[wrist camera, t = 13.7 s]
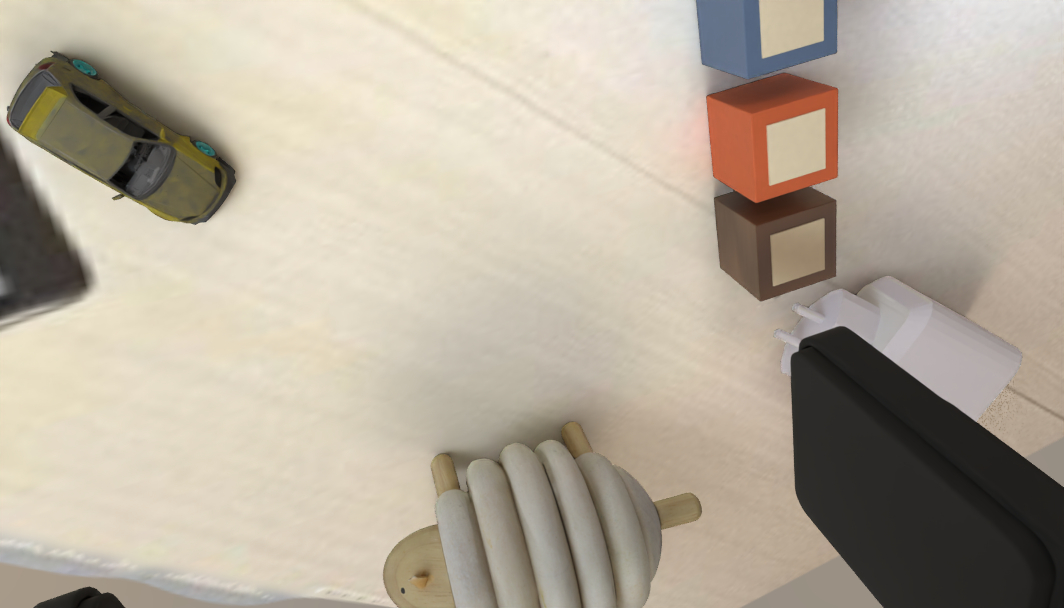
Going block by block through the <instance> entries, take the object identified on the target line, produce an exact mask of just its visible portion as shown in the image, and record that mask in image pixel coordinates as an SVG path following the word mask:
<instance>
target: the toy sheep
mask: <svg viewBox="0 0 1064 608" xmlns="http://www.w3.org/2000/svg"><path fill="white" fill-rule="evenodd" d="M561 435H562V438H563V440H564V442H565V444H566V446H567V449H568V450H567V449H566V447H565V446H564V445H563V444H561V443H560V442H557V441H554V440H547V441H544V442H542V443H540V444H539V445H538V446H537V447H536V448H535V450H534V452H532V450H531V449H530V448H529V447H527V446H526V445H524V444H521V443H512V444H509V445H507V446H506V447H505V448H504V449H503V450H502V451H501V453H500V456H499V460H498V463H496V462H494V461H493V460H490V459H478V460H474V461H472V462H471V463H470V465H469V466H468V468H467V473H466V484H467V487H468V492H464V491H462V490H460V485H459V482H458V478H457V474H456V471H455V467H454V463H453V461H452V459H451V458H450V457H449V456H448V455H446V454H440V455H437V456H436V457H435V458H434V459H433V460H432V463H431V470H432V474H433V478H434V483H435V487H436V491H437V495H438V500H437V502H436V505H435V512H436V518H437V522H438V524H437V525H433V526H429V527H426V528H423V529H420V530H418V531H416V532H414V533H412V534H410V535H409V536H407V537H406V538H404V539H403V540H402V541H400V542H399V543H398V544H397V545H396V546H395V547H394V548H393V550H392V551H391V553H390V554H389V556H388V557H387V560H386V562H385V566H384V570H383V580H384V585H385V588H386V591H387V593H388V595H389V596H390V598H391V599H392V601H393V602H394V603H395V604H396V605H397V606H398V607H399V608H642V607H643V606H644V605H645V603H646V601H647V599H648V597H649V593H650V582H651V581H652V580H653V578H654V576H655V574H656V571H657V568H658V565H659V561H660V556H661V548H662V534H661V530H662V529H666V528H670V527H674V526H677V525H681V524H685V523H689V522H693V521H696V520H698V519H699V517H700V516H701V513H702V508H701V504H700V501H699V499H698V498H697V497H696V496H695V495H694V494H692V493H685V494H681V495H677V496H674V497H670V498H666V499H662V500H659V501H655V502H652V500H651V498H650V497H649V495H648V494H647V492H646V491H645V489H644V488H643V487H642V486H641V484H640V483H639V482H638V481H637V480H636V479H635V478H634V477H633V476H631V475H630V474H629V473H628V472H626V471H625V470H624V469H622V468H620V467H619V466H616V465H613V464H612V463H611V462H610V461H609V460H608V459H607V458H605V457H604V456H602V455H600V454H597V453H593V450H592V448H591V446H590V444H589V442H588V440H587V438H586V436H585V434H584V432H583V429H582V427H581V425H580V424H578V423H577V422H569V423H567V424H565V425H564V426H563V428H562V431H561Z"/></svg>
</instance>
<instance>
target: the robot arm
mask: <svg viewBox="0 0 1064 608" xmlns="http://www.w3.org/2000/svg"><path fill="white" fill-rule="evenodd" d="M790 366H791V393H792V419H793V446H794V472H795V490H796V494H797V498H798V500H799V502H800V505H801V506H802V508H803V510H804V511H805V513H806V514H807V515H808V517H809V518H810V519H811V520H812V521H813V523H814V524H815V525H816V526H817V528H818V529H819V530H820V531H821V532H822V534H823V535H824V536H825V537H826V538H827V540H828V541H829V542H830V543H831V545H832V546H833V547H834V548H835V549H836V551H837V552H838V553H839V554H840V555H841V557H842V558H843V559H844V560H845V561H846V563H847V564H848V565H849V566H850V567H851V569H852V570H853V571H854V572H855V574H856V575H857V576H858V577H859V578H860V580H861V581H862V582H863V583H864V585H865V586H866V587H867V588H868V589H869V591H870V592H871V593H872V594H873V595H874V597H875V598H876V599H877V600H878V601H879V603H880V604H881V605H882V606H883V607H884V608H1064V487H1063V486H1061V485H1060V484H1058V483H1057V482H1056V481H1055V480H1053V479H1052V478H1050V477H1049V476H1048V475H1047V474H1045V473H1044V472H1042V471H1041V470H1040V469H1038V468H1037V467H1036V466H1035V465H1033V464H1032V463H1031V462H1029V461H1028V460H1027V459H1025V458H1024V457H1023V456H1021V455H1020V454H1019V453H1017V452H1016V451H1015V450H1013V449H1012V448H1010V447H1009V446H1008V445H1006V444H1005V443H1004V442H1002V441H1001V440H1000V439H998V438H997V437H996V436H994V435H993V434H992V433H990V432H989V431H988V430H986V429H985V428H984V427H982V426H981V425H980V424H978V423H977V422H976V421H974V420H973V419H972V418H970V417H969V416H968V415H966V414H965V413H964V412H962V411H961V410H960V409H958V408H957V407H956V406H954V405H953V404H951V403H950V402H948V401H946V400H944V399H943V398H941V397H940V396H938V395H937V394H936V393H934V392H933V391H932V390H930V389H929V388H928V387H926V386H925V385H924V384H922V383H921V382H920V381H918V380H917V379H916V378H914V377H913V376H912V375H910V374H909V373H908V372H906V371H905V370H904V369H903V368H901V367H900V366H899V365H897V364H896V363H895V362H893V361H892V360H891V359H889V358H888V357H887V356H885V355H884V354H883V353H881V352H880V351H879V350H877V349H876V348H875V347H873V346H872V345H871V344H869V343H868V342H867V341H865V340H864V339H863V338H861V337H860V336H859V335H857V334H856V333H855V332H853V331H852V330H850V329H849V328H847V327H845V326H838V327H835V328H832V329H829V330H826V331H823V332H820V333H817V334H815V335H812V336H809V337H806V338H804V339H802V340H801V342H800V344H799V351H798V352H795V353H793V354H792V356H791V360H790ZM34 608H125V607H124V606H123V605H122V603H121V602H120V601H119V600H118V599H117V598H116V597H115V596H114V595H113V594H111V593H103V594H101V593H100V592H99V591H98V590H97V589H95V588H92V587H86V588H82V589H79V590H76V591H73V592H70V593H67V594H64V595H61V596H59V597H56V598H53V599H50V600H47V601H44V602H41V603H39V604H37V605H36V606H35V607H34Z"/></svg>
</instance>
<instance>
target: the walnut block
mask: <svg viewBox="0 0 1064 608" xmlns="http://www.w3.org/2000/svg"><path fill="white" fill-rule="evenodd" d="M714 203H715V214H716V225H717V236H718V247H719V258H720V268H721V269H722V270H724V271H725V272H726V273H727V274H728V275H730V276H731V277H732V278H733V279H734V280H735V281H737V282H738V283H739V284H740V285H741V286H743V287H744V288H745V289H746V290H747V291H749V292H750V293H751V294H752V295H753V296H754V297H756V298H757V299H758V300H759V301H764V300H767V299H770V298H773V297H776V296H779V295H782V294H785V293H788V292H791V291H794V290H797V289H800V288H803V287H806V286H809V285H812V284H815V283H817V282H820V281H823V280H826V279H829V278H832V277H835V276H836V200H835V199H833V198H831V197H829V196H827V195H825V194H823V193H821V192H819V191H817V190H815V189H813V188H811V187H806V188H802V189H799V190H796V191H793V192H790V193H787V194H783V195H780V196H777V197H774V198H771V199H768V200H765V201H761V202H758V203H755V202H753V201H752V200H750V199H748V198H747V197H745V196H744V195H742V194H740V193H739V192H737V191H735V192H732V193H728V194H725V195H722V196H719V197H716V198H714Z"/></svg>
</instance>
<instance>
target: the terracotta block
mask: <svg viewBox="0 0 1064 608" xmlns="http://www.w3.org/2000/svg"><path fill="white" fill-rule="evenodd" d="M706 98H707V109H708V120H709V132H710V143H711V154H712V166H713V176H714V177H715V178H716V179H718V180H719V181H721V182H723V183H724V184H726V185H727V186H729V187H731V188H732V189H734V190H736V191H737V192H739V193H740V194H742V195H744V196H745V197H747V198H748V199H750V200H752V201H753V202H755V203H758V202H761V201H765V200H768V199H771V198H774V197H777V196H780V195H783V194H787V193H790V192H793V191H796V190H799V189H802V188H806V187H809V186H812V185H815V184H818V183H821V182H825V181H828V180H831V179H834V178H837V176H838V88H835V87H832V86H828V85H825V84H821V83H818V82H815V81H811V80H808V79H804V78H801V77H797V76H794V75H791V74H787V73H782V74H779V75H776V76H772V77H769V78H765V79H762V80H759V81H755V82H752V83H748V84H745V85H742V86H738V87H735V88H732V89H728V90H725V91H721V92H718V93H715V94H711V95H708V96H707V97H706Z"/></svg>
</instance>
